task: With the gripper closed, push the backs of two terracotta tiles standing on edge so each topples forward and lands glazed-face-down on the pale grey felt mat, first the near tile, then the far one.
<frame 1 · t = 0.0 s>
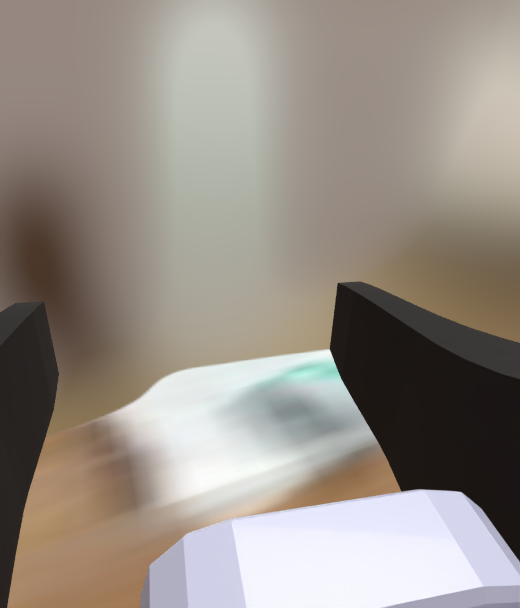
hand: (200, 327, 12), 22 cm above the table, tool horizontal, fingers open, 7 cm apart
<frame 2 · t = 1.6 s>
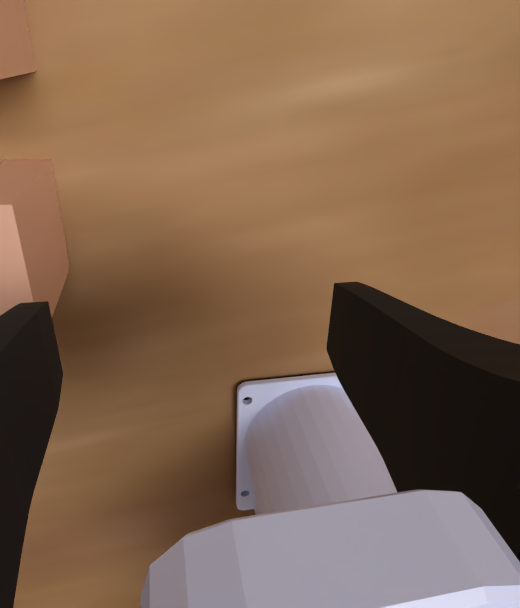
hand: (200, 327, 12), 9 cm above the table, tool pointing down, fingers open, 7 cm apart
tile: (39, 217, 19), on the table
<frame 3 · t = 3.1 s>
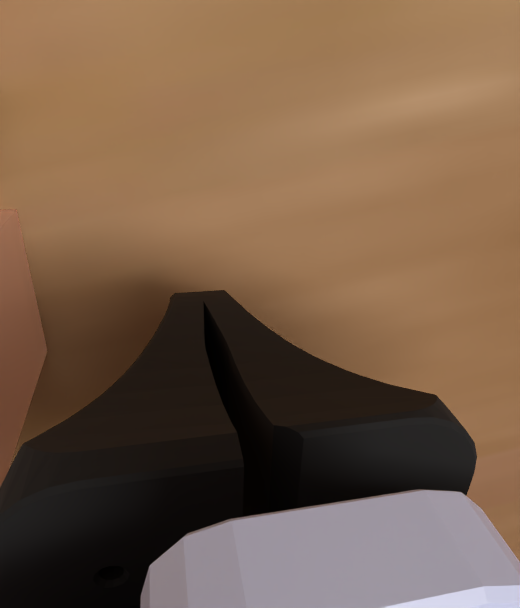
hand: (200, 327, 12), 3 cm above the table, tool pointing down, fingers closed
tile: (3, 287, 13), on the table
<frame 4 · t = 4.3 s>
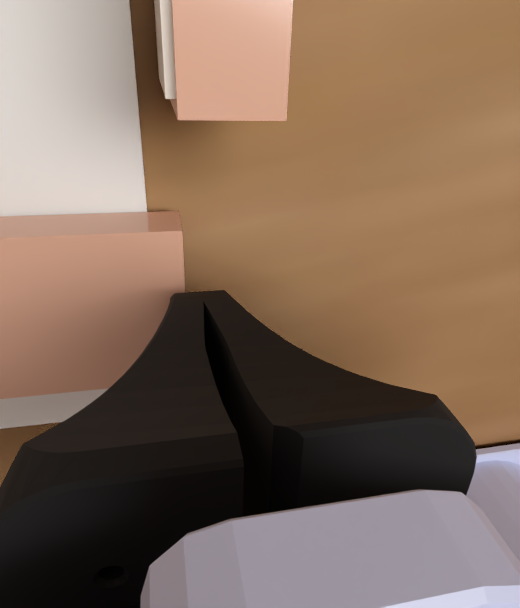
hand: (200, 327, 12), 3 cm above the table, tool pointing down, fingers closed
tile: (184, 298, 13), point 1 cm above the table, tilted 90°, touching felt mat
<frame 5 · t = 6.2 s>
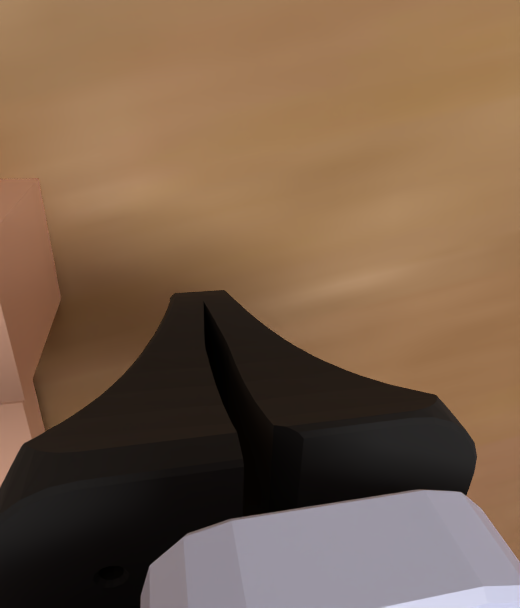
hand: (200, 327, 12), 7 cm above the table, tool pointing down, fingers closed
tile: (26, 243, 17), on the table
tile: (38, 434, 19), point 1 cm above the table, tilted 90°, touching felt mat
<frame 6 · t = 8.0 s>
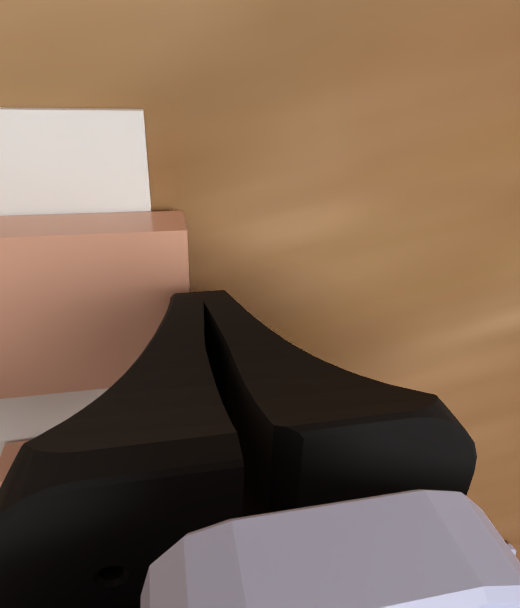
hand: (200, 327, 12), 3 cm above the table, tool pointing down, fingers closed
felt mat: (38, 391, 15), on the table
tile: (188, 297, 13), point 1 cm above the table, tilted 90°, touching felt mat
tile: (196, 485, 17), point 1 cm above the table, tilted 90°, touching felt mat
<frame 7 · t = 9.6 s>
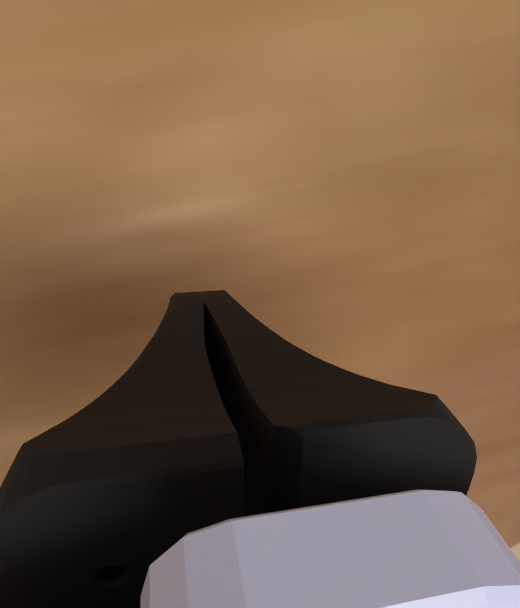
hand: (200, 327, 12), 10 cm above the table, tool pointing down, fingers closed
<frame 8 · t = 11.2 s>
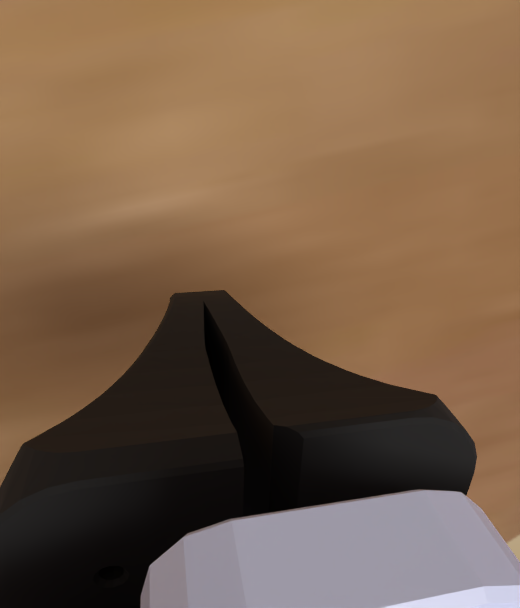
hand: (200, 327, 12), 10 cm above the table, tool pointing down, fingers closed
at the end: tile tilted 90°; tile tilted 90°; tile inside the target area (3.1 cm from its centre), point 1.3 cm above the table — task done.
